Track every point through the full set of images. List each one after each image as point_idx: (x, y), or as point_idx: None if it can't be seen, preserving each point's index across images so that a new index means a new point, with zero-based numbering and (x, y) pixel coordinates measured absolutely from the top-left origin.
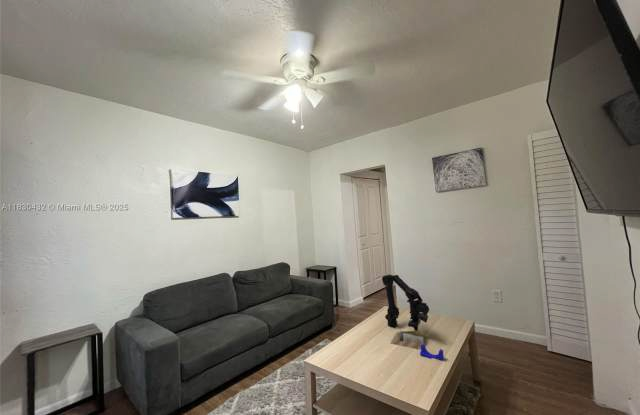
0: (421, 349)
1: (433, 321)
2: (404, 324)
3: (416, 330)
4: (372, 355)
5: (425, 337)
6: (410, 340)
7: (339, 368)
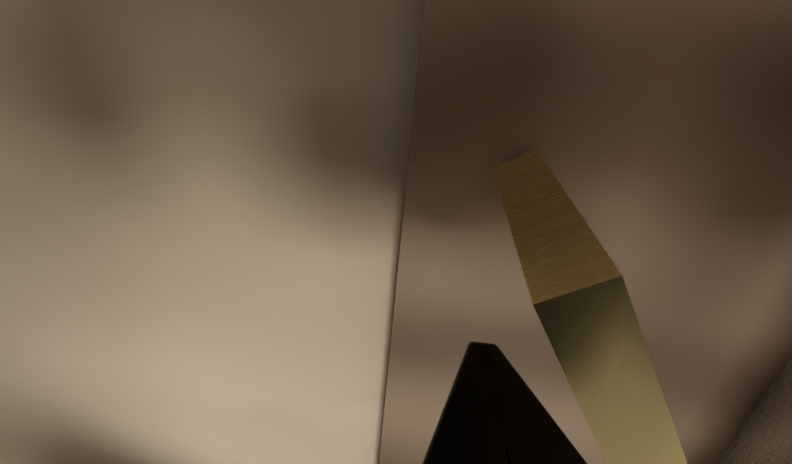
0: None
1: None
2: (10, 449)
3: (644, 456)
4: None
5: (450, 33)
6: None
7: None
